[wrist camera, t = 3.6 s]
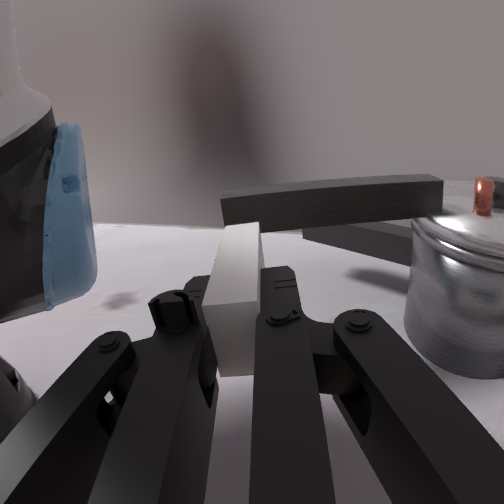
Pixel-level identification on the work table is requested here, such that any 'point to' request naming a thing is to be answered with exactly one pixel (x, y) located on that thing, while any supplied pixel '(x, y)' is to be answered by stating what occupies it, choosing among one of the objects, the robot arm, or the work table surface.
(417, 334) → the pot
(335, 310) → the work table surface
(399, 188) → the lid
